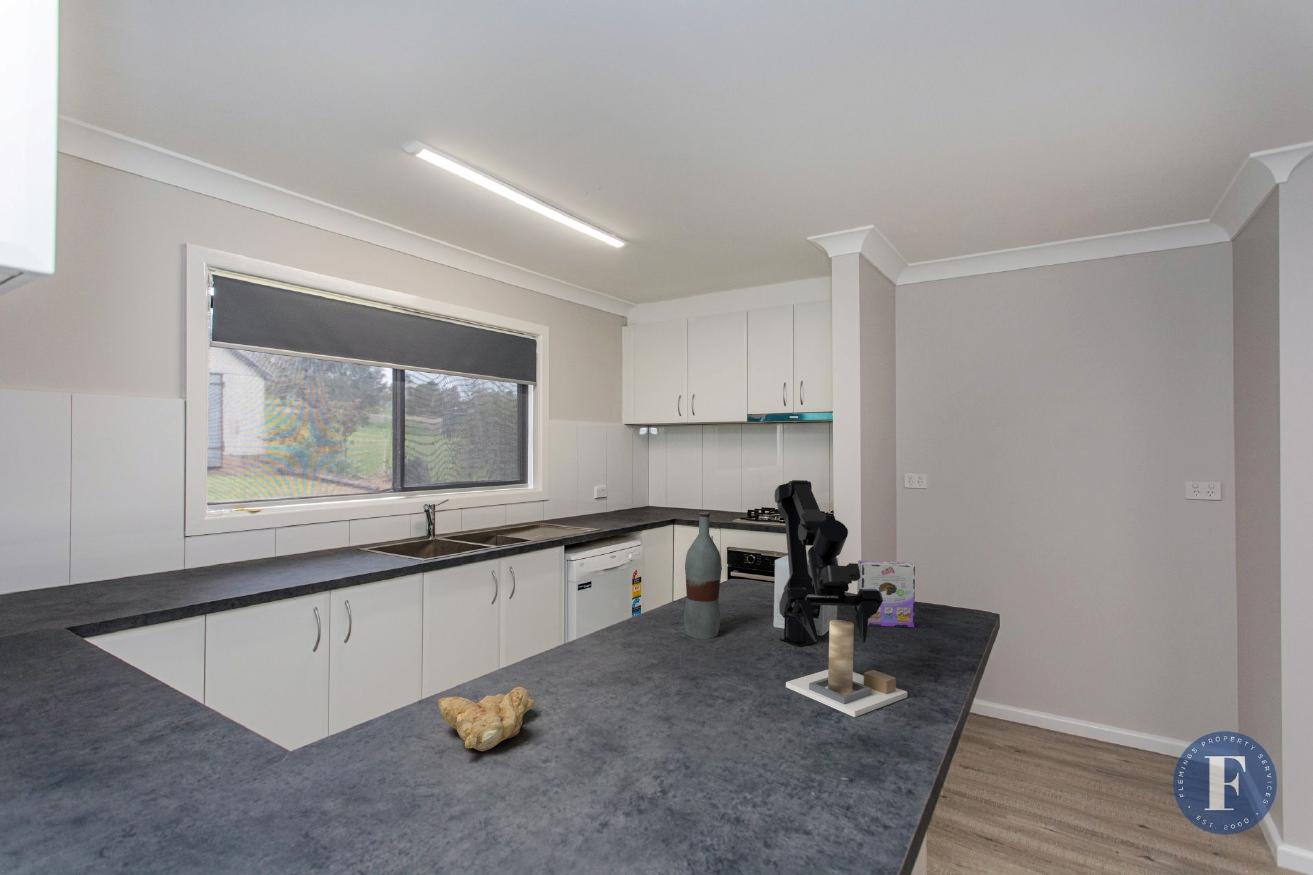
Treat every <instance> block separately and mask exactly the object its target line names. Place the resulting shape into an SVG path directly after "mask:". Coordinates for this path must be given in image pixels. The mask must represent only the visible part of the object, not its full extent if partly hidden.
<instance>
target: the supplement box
mask: <svg viewBox="0 0 1313 875" xmlns="http://www.w3.org/2000/svg"><path fill="white" fill-rule="evenodd" d="M808 561H809V558H808V554H807V563H808V573H809V575H810V576H811V577H812V574H811V568H810V563H809V562H808ZM837 561H838V562H839V558H837ZM789 577H790V574H789V562H788V554H787V555H784V556H783V557H779V558H777V559H775V560H774V591H773V593H774V594H773V597H774V598H773V599H774V600H773V622H772V623H773V624H772V627H773V628H778V629H783V630H784V621H785V618H783V616H782V615H781V614H780V609H779V603H780V600H781V597H782V594H783V592H784V587H785V585H786V583H787V581H788V579H789ZM813 620H814V623H815V627H816V631H817V636H824V635H825V634H827V632H828V633H829V626H830V621H831V620H838V606H826V605H821V606H820V614H819V618H813Z"/></svg>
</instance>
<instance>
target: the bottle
mask: <svg viewBox="0 0 1313 875" xmlns="http://www.w3.org/2000/svg"><path fill="white" fill-rule="evenodd" d="M698 514H699V518H698V519H699V523H698V534H697V535H696V538H695V539H694V540H693V541H692V544H691V545H690V546H689V548H688V549H687V552H686V555H685V561H684V562H685V564H684V571H685V572H684V573H685V589H686V590H685V591H686V598H685V603H684V611H683V624H684V625H683V626H684V632H685V635H686V636H688V637H690V638H694V639H699V640H701V639H702V640H706V639H707V640H708V639H714V638H716V637H718V635H719V630H720V627H721V620H722V619H721V618H722V617H721V609H720V600H719V597H720V586H721V577H722V570H723V568H722V566H723V565H722V556H721V552H720V551H719V549H718V547H717V546H716V544H715V542H714V540H713V539H712V537H711V535H710V514H711V513H710V512H708V511H701V512H698Z"/></svg>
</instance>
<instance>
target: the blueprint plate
mask: <svg viewBox="0 0 1313 875" xmlns="http://www.w3.org/2000/svg"><path fill="white" fill-rule="evenodd" d="M896 684H897V678H896V677H894V676H892V675H889V674H886V673H883V672H882V671H881V672H880V671H878V670H875V669H871V670H868V671H866V672H865V671H864V672H863V674H860V673H857V672H855V671H853V683H852V693H849V694H846V695H842V694H839V693H837V692H834V691H832V690H830V689H828V669H825V670H822V671H819V672H815V673H812V674H808V675H804V676H802V677H798V678H795V679H792V680H789V681H786V682H785V688H787V689H789V690H791V691H794V692H796V693H798V694H800V695H803V696H805V697H808V698H810V699H813V700H814V701H817V702H819V703H821V704H824V705H826V706H828V707H829V708H830V707H831V708H833V709H835V710H837V711H839V712H842V713H844V714H847V715H848V716H851V717H853V718H856V717H860V716H861V715H864V714H867V713H869V712H872V711H875V710H877V709H880V708H882V707H885V706H888V705H890V704H893V703H896V702H898V701H900V700H903V699H907V698H908V691H906V690H904V689H900V688H897V687H896V686H897V685H896Z"/></svg>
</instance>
